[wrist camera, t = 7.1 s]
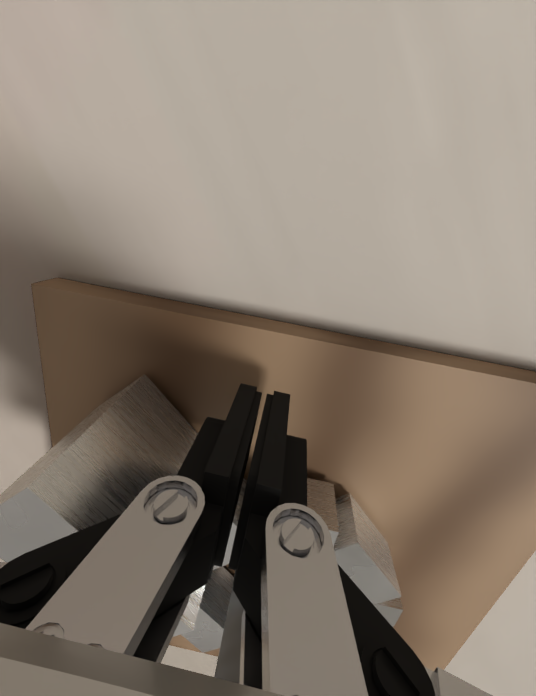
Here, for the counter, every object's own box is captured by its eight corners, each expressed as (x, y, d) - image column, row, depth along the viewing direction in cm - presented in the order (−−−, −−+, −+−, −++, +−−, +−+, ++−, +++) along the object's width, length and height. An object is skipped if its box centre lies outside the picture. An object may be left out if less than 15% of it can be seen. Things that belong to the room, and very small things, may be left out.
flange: (218, 323, 10) (143, 413, 5) (422, 586, 13) (483, 777, 9) (44, 443, 13) (-106, 572, 8) (251, 635, 16) (231, 800, 12)
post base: (611, 386, 11) (1104, 652, 4) (411, 674, 19) (470, 926, 12) (57, 277, 11) (-284, 356, 5) (88, 599, 19) (-26, 799, 13)
